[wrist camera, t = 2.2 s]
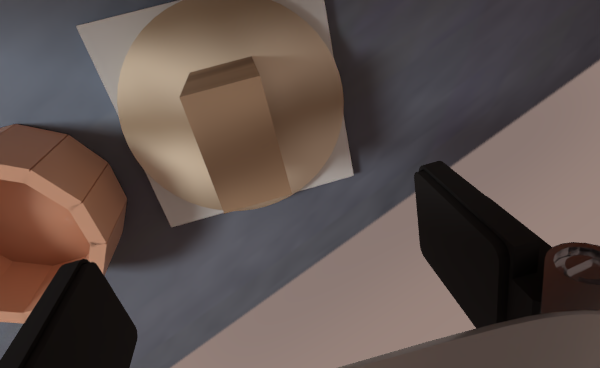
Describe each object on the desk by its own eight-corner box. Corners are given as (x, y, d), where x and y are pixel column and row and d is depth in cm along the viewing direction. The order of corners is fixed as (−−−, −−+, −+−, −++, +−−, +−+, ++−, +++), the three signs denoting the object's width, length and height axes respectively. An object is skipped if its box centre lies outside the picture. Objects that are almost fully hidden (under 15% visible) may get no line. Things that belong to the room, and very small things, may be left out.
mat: (79, 25, 20) (75, 26, 19) (315, -34, 21) (318, -35, 20) (172, 222, 26) (171, 227, 26) (351, 172, 27) (353, 175, 26)
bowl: (-98, 153, 21) (-182, 195, 17) (79, 106, 22) (43, 136, 17) (6, 283, 26) (-38, 342, 21) (149, 242, 26) (135, 291, 22)
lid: (76, 26, 19) (17, 39, 14) (318, -36, 20) (354, -46, 15) (172, 227, 26) (158, 292, 20) (354, 174, 26) (389, 223, 21)
